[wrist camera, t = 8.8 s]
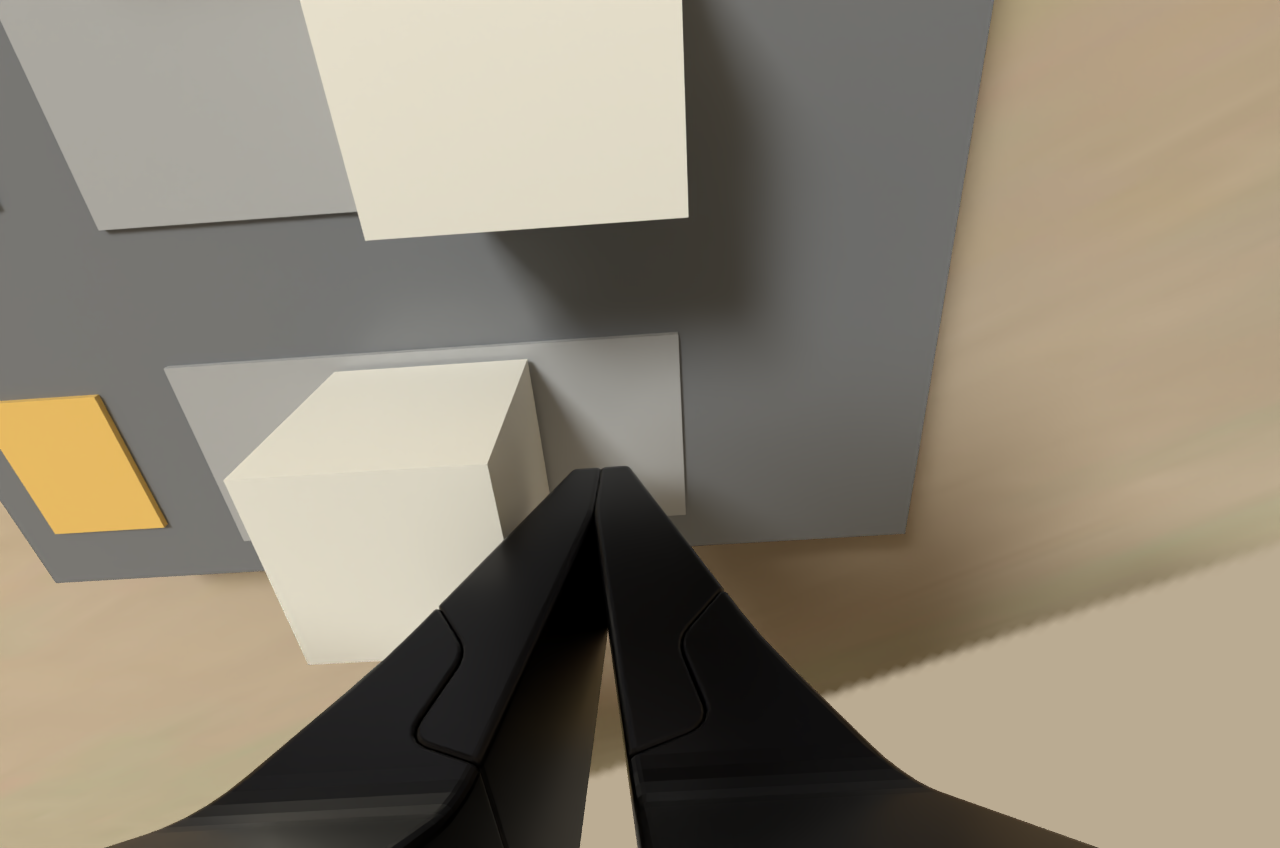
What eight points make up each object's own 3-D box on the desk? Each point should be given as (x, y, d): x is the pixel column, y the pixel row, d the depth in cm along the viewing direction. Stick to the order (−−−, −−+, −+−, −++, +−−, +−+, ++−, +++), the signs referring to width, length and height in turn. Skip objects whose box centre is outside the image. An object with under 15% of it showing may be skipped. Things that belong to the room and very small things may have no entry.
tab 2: (527, 359, 10) (486, 464, 7) (553, 516, 11) (528, 652, 8) (334, 372, 10) (222, 479, 7) (385, 526, 11) (308, 664, 9)
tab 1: (659, -115, 7) (674, -234, 4) (671, 173, 8) (688, 217, 6) (391, -93, 7) (247, -194, 4) (448, 190, 8) (365, 241, 6)
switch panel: (1057, -1017, 6) (1259, -1541, 4) (869, 473, 13) (907, 537, 12) (-621, -809, 6) (-1165, -1193, 4) (129, 518, 14) (51, 586, 12)
